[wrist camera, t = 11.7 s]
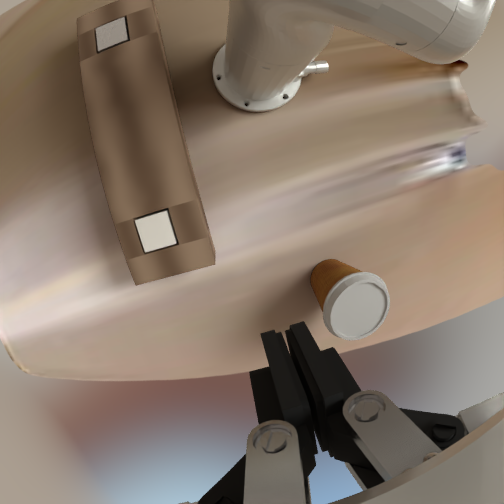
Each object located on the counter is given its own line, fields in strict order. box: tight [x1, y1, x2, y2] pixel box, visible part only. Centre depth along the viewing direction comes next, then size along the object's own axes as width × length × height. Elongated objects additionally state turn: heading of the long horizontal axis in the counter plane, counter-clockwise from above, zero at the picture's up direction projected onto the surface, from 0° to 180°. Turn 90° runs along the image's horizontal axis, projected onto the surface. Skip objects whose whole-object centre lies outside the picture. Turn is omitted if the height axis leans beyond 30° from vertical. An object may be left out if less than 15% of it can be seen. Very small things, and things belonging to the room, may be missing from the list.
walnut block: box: [77, 0, 215, 285], centre depth 33 cm, size 11×40×6 cm, turn 14°
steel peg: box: [96, 17, 130, 53], centre depth 29 cm, size 4×4×6 cm
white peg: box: [135, 208, 178, 252], centre depth 37 cm, size 4×4×6 cm
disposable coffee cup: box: [311, 259, 390, 340], centre depth 40 cm, size 10×10×12 cm
